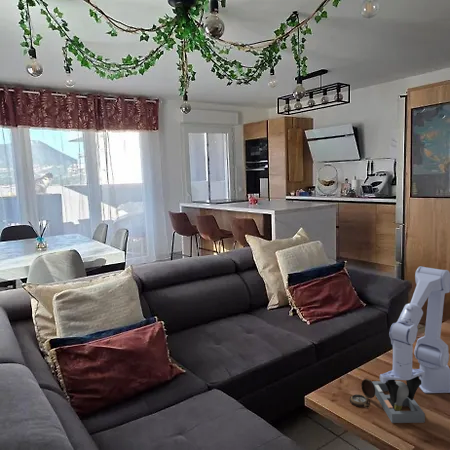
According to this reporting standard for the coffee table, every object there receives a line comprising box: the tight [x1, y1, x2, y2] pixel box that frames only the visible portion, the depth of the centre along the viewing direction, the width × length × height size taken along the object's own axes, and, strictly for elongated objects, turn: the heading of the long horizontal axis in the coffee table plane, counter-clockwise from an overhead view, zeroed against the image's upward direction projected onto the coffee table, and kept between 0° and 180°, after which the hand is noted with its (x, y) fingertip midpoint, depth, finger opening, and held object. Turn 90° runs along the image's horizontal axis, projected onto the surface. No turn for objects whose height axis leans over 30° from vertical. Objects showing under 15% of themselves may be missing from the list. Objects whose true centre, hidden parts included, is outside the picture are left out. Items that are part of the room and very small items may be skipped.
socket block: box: [371, 380, 426, 424], centre depth 129 cm, size 10×19×3 cm, turn 177°
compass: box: [349, 378, 376, 409], centre depth 131 cm, size 8×8×7 cm
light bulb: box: [394, 380, 409, 411], centre depth 125 cm, size 5×6×10 cm
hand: (401, 399), depth 124 cm, fingers closed on light bulb, 5 cm apart
